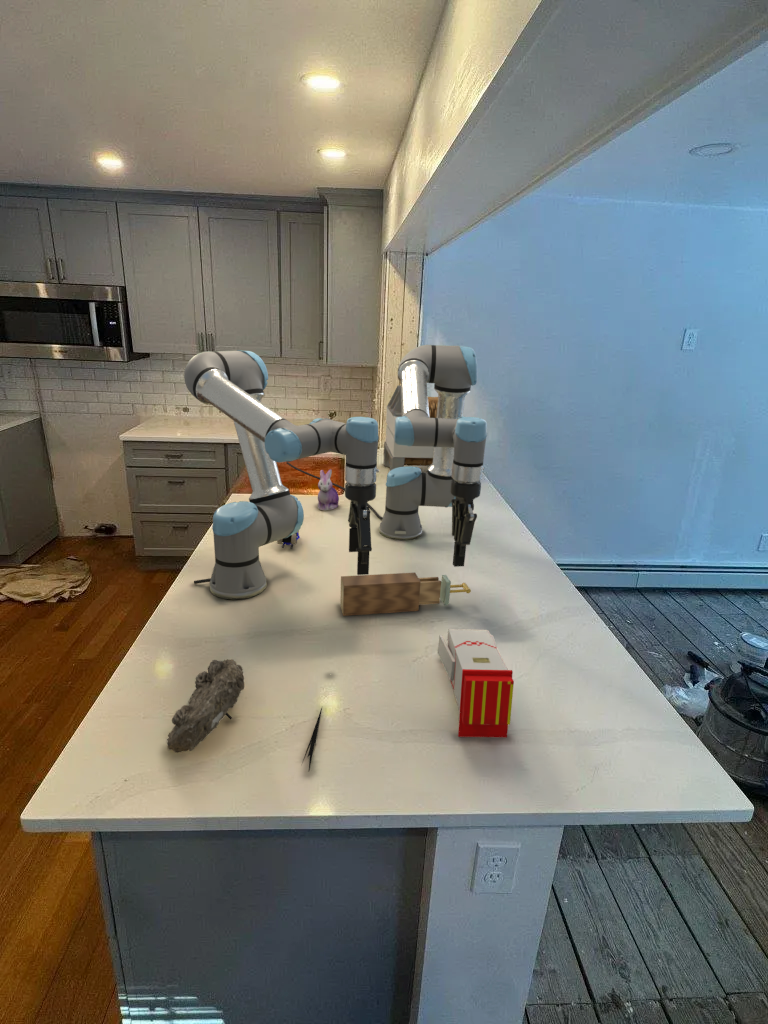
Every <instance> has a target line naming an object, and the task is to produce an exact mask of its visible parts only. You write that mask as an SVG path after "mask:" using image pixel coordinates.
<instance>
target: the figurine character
mask: <svg viewBox="0 0 768 1024" xmlns="http://www.w3.org/2000/svg"><path fill="white" fill-rule="evenodd" d="M299 532H300V530H299V531H298V532H297V533H295V534H293V535H291V536H289V537H288V538H284V539H280V540H277V541H276V545H281V549H285V547H286V546H290V550H292V549H293V548H294V545H296V544H297V543H298V540H299V539H300V538H301V535H300V533H299ZM285 545H286V546H285Z"/></svg>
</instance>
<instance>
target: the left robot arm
mask: <svg viewBox="0 0 768 1024" xmlns="http://www.w3.org/2000/svg"><path fill="white" fill-rule="evenodd" d="M268 372H269V371H268V369H267V366H266V363H265V362H264V361H263V359H262V358H261V356H260V355H258V354H257V353H256V352H254V351H251V350H242V349H236V350H219V351H211V350H210V351H203V352H200V353H197V354H195V355H194V356H192V357H191V359H189V360H188V362H187V363H186V366H185V369H184V371H183V373H184V375H183V378H184V383H185V386H186V389H187V390H188V392H189V393H190V394H191V395H192V396H193V397H194V398H195V399H196V400H197V401H199V402H200V403H202V404H203V405H207V406H213V407H214V408H215V409H217V410H218V411H220V412H221V413H223V414H224V415H225V416H227V418H228V419H231V420H232V421H233V425H234V429H235V432H236V435H237V439H238V443H239V447H240V450H241V455H242V458H243V461H244V465H245V470H246V473H247V476H248V480H249V483H250V487H251V488H250V489H251V494H250V496H249V498H248V501H246V500H242V501H241V500H240V501H233V502H229V503H226V504H223V505H221V506H220V507H218V508H217V509H216V510H215V511H214V513H213V516H212V526H211V527H212V528H211V529H212V532H213V549H214V566H213V569H212V572H211V577H210V578H202V579H197V580H196V579H195V580H194V581H193V584H194V585H199V584H206V583H209V590H210V591H209V592H210V593H211V594H212V595H214V596H215V597H218V598H221V599H225V600H244V599H250V598H253V597H254V596H258V595H260V594H261V593H262V592H264V591H265V589H266V588H267V575H266V574H265V571H264V569H263V566H262V563H261V562H260V548H261V547H263V546H266V545H268V544H271V543H272V544H273V543H275V542H277V540H280V539H284V538H288V537H289V536H291V535H293V534H295V533H297V532H298V531H299V532H300V530H301V528H302V526H303V524H304V519H305V514H304V508H303V504H302V502H301V501H300V500H299V498H298V497H297V496H295V495H293V494H291V492H290V488H288V487H287V486H285V485H284V484H283V482H282V478H281V475H280V471H279V467H278V463H287V462H288V463H290V462H294V461H296V460H301V459H305V458H310V457H314V456H318V455H322V454H327V453H336V454H338V455H342V456H345V464H344V466H345V467H344V481H345V483H344V488H345V490H344V497H345V498H346V499H347V500H349V502H350V503H349V511H348V517H347V518H348V519H347V522H348V527H349V528H348V529H349V530H348V552H349V553H357V562H356V563H357V565H356V566H357V567H356V576H358V575H370V573H369V572H370V552H372V550H373V548H372V534H371V530H372V529H371V509H370V508H369V506H367V503H369V502H371V501H373V500H375V499H376V496H377V484H376V482H377V474H378V473H379V471H380V470H379V468H378V451H379V450H378V448H379V439H380V437H379V422H378V420H376V419H375V418H373V417H368V416H351V417H348V419H347V420H346V422H341V421H337V420H333V419H330V418H320V417H317V418H314V419H313V420H312V421H310V422H309V423H306V424H301V425H300V424H299V425H296V424H294V423H292V422H291V421H290V420H288V419H286V418H285V417H284V416H282V415H280V414H279V413H278V412H276V411H275V410H274V409H272V408H270V407H268V405H266V404H265V403H263V402H262V400H263V399H264V397H265V392H264V390H265V389H266V388H267V386H268V380H269V373H268Z"/></svg>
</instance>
